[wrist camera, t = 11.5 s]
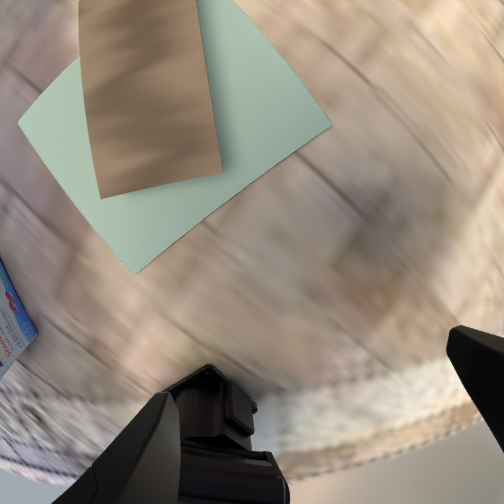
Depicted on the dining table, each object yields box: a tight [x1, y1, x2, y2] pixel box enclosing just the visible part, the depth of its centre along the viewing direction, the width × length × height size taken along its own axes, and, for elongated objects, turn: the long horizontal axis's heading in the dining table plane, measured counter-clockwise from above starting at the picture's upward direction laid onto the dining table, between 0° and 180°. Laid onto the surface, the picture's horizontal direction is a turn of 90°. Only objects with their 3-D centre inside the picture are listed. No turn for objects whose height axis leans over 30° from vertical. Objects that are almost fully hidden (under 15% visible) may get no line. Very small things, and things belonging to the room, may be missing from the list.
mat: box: [17, 0, 333, 275], centre depth 17 cm, size 16×14×1 cm
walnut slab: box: [78, 0, 223, 199], centre depth 15 cm, size 6×4×12 cm
